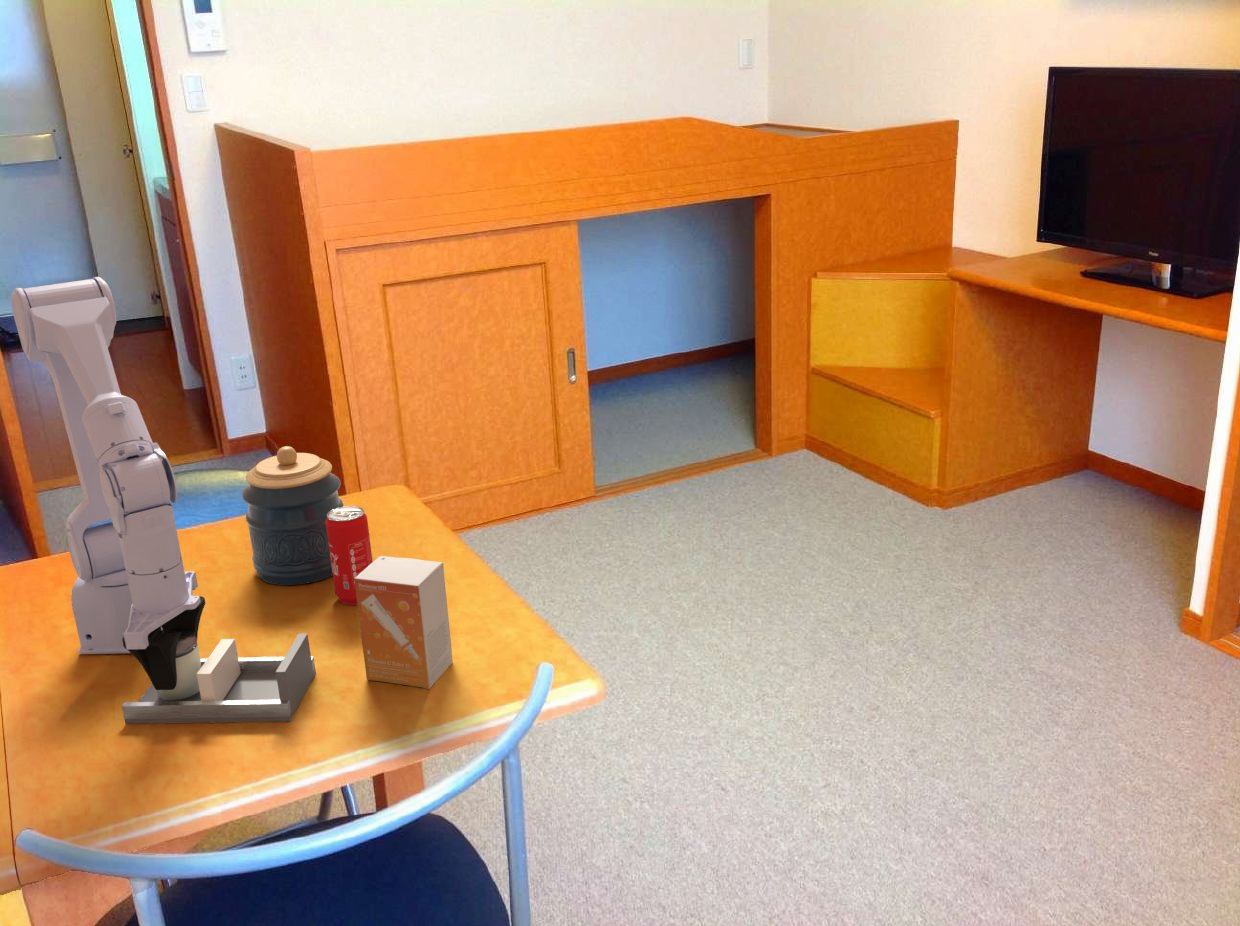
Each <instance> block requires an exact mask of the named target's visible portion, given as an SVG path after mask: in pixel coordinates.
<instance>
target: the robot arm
mask: <svg viewBox="0 0 1240 926" xmlns="http://www.w3.org/2000/svg"><path fill="white" fill-rule="evenodd" d="M10 305H11V309H12V314H13V318H14V322H15V326H16V330H17V333H18V336H19V340H20V344H21V348H22V351H23V353H24V354H25V356H26V358H27V360H28V361H29V362H32V363H33V362H34V363H39V364H43V365H44V366H45V368H46V370H47V372H48V373H49V375H50V377H51V380H52V382H53V384H54V389H55V393H56V397H57V400H58V404H59V408H60V412H61V414H62V418H63V419H62V420H63V423H64V427H65V431H66V434H67V437H68V442H69V445H70V449H71V450H70V451H71V454H72V456H73V461H74V465H75V468H76V472H77V476H78V479H79V484H80V487H81V492H82V493H83V494H82V495H83V499H82V501H81V502H80V503H79V504H78V505H77V507H76V508H75V509H74V510H73V511H72V512H71V513H70V514H69V516H68V517H67V518H66V523H65V526H64V528H65V532H66V536H67V547H68V551H69V555H70V558H71V562H72V566H73V569H74V570H75V572H76V575H77V577H76V580H75V581H74V583H73V585H72V588H71V599H70V600H71V607H72V612H73V613H72V614H73V618H74V621H75V626H76V630H77V636H78V639H79V643H80V648H79V649H78V651H77V652H78V654H79V655H105V654H107V655H108V654H109V655H111V654H113V655H114V654H131V655H133V657H134V658H135V659H136V660H137V661H138V662H139V664H140V665H141V667H142V668H143V669H144V671H145V673H146V674H147V677H148V678H149V680H150V682H151V684H153V686H154V688H155V689H156V690H173V689H174V688H175V687H176V683H177V672H176V648H177V643H178V639H179V636H180V634H181V633H180V632H171V633H165V632H166V631H170V630H175V629H187V630H191V631H193V632H194V633H195V635H196V640H197V641H198V634H199V632H198V631H199V627H200V621H201V617H202V613H203V610H204V608H205V605H206V598H205V597H204V596H202V595H193V591H195V590H196V589H197V588H198V586H199V583H198V578H197V573H196V572H197V571H185V567H184V562H183V556H182V551H181V547H180V546H181V545H180V540H179V536H178V530H177V526H176V525H177V524H176V518H175V513H174V507H173V505H172V504H171V503H173V504H175V503H176V502H177V499H178V490H177V483H176V479H175V475H174V471H173V468H172V466H171V464H170V463H171V462H170V461H169V459H168V457H167V455H166V453H165V452H164V451H163V450H162V449H161V446H160V445H159V443H158V442H156V441H155V442H153V439H152V438H151V435H150V432H149V431H148V427H147V424H146V423H145V420H144V418H143V415H142V413H141V410H140V408H139V405H138V403H137V402H136V400H134V399H133V398H132V397H129V396H126V395H123V394H122V392H121V390H120V386H119V383H118V379H117V376H116V375H117V374H116V372H115V368H114V365H113V361H112V358H111V355H110V352H109V347H110V346H111V341H112V339H113V338H114V331H115V327H116V324H117V311H116V310H117V309H116V304H115V301H114V298H113V294H112V291H111V288H110V285H108V283H107V282H106V281H105V280H104V279H103V278H102V277H100V276H94V277H92V278H89V279H84V280H83V279H82V280H77V281H75V280H74V281H69V282H68V281H67V282H61V283H54V284H53V283H52V284H47V285H40V286H32V287H27V288H22V287H16V288H14V289H13V292H12V293H11V295H10ZM109 520H111V522H106V521H109ZM102 522H106V523H103V524H99V523H102ZM97 523H98V525H94V524H97ZM92 525H94V526H92Z"/></svg>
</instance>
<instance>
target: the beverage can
mask: <svg viewBox="0 0 1240 926" xmlns="http://www.w3.org/2000/svg"><path fill="white" fill-rule="evenodd" d="M326 529H327V537H328V544H329V551H330V558H331V566H332V573H333V575H332V578H333V586H334V587H333V588H334V592H335V593H334V594H335V596H336V598H337V599H339V603H340V604H341V605H344V606H358V604H357V596H356V588H355V579H354V578H355V577H357V576H358V575H359V574H360V573H361V572H362V571H363V570H364V569H365V568H367V567H368V566H369V565H370V564H371V563H372V562H373V554H372V553H373V552H372V547H371V546H372V545H371V538H370V528H369V521H368V515H367V514H366V513H365V509H364V508H363V507H360V506H357V505H356V506H355V505H349V506H348V505H346V506H343V507H340V508H336V509H333V510H331V511H330V512H328V514H327V519H326Z"/></svg>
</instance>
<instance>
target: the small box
mask: <svg viewBox="0 0 1240 926" xmlns="http://www.w3.org/2000/svg"><path fill="white" fill-rule="evenodd" d="M372 561H373V560H372ZM354 579H355V588H356V596H357V604H358V605H357V611H358V620H359V628H360V636H361V643H362V644H361V645H362V646H361V647H362V652H363V661H364V669H365V677H366V680H367V681H376V682H384V683H391V684H397V685H398V684H399V685H405V686H411V687H418V688H423V689H428V690H429V689H431V688H432V687H433V685H434V684H435V683H437V681H438V680H439V678H440V677H441V676H442V675H443V674H444V673H445V672H446V670H447V669H448V668H449V667H450V666H451V664H452V663H453V650H452V640H451V629H450V619H449V611H448V600H447V590H446V581H445V580H446V579H445V569H444V562H443V561H434V560H427V559H426V560H425V559H424V560H423V559H418V558H410V557H399V556H398V557H395V556H385V555H380V556H378V557H377V558H376V559H375V560H374V561H373V562H372V563H371V564H370V565H369V566H368V567H367V568H365V569H364V570H363V571H362V572H361V573H360V574H359V575H358V576H357V577H355V578H354Z"/></svg>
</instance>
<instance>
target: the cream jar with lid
mask: <svg viewBox="0 0 1240 926" xmlns="http://www.w3.org/2000/svg"><path fill="white" fill-rule="evenodd" d="M171 632H180V633H181V634H180V636H179V639H178V643H177V648H176V672H177V683H176V687H175V688H174V689H173V690H157V694H158V696H159V697H160V698H162V699H166V700H178V699H183V698H187V697H190V696H192V695H194V694H196V693H198V692H199V691H200V690H199V684H198V679H197V673H198V671H199V670H200V668H201V667H202V666H201V661H200V658H201V656H200V652H199V651H200V650H199V647H198V646H199V645H198V639H197V640H196V635H195V633H194V632H193V631H191V630H187V629H175V630H170V631H166V632H165V633H171Z"/></svg>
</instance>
